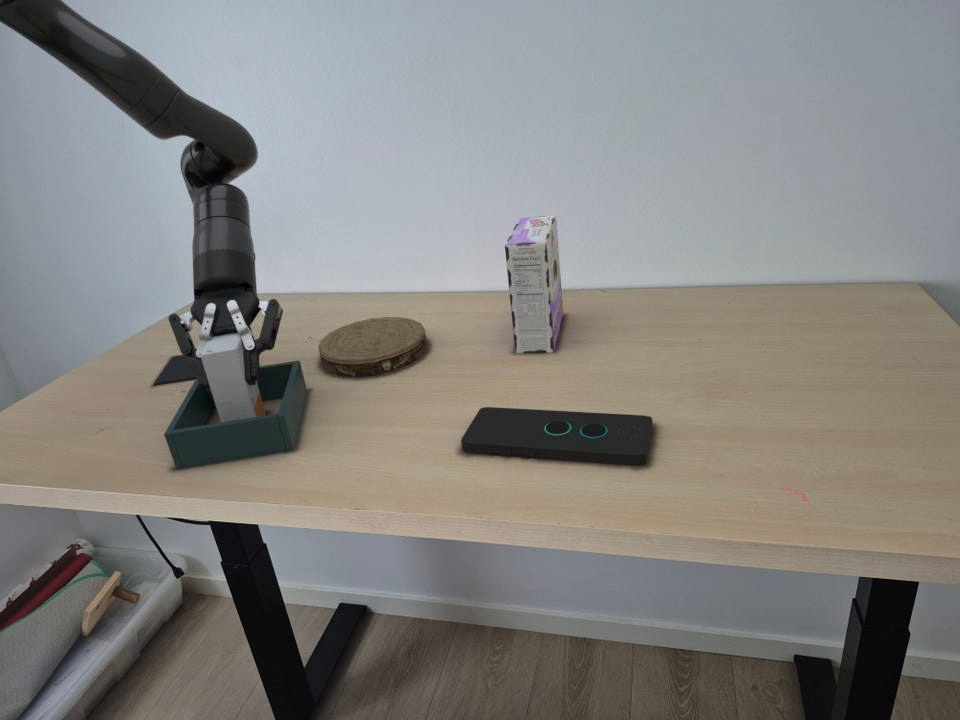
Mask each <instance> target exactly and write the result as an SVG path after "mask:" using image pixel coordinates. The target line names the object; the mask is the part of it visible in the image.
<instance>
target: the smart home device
mask: <svg viewBox="0 0 960 720" xmlns="http://www.w3.org/2000/svg"><path fill="white" fill-rule="evenodd" d="M652 434H653V417H652V416H649V415H643V414H627V413H626V414H623V413H608V412H607V413H606V412H589V411H587V412H586V411H572V410H571V411H569V410H552V409H550V410H549V409H533V408H531V409H530V408H511V407H494V406H485V407H481V408H479V410H478V411H477V413H476V415H475V416H474V418H473V419H472V421H471V422H470V424H469V425H468V428H467V429H466V431H465V433H464V434H463V436H462V437H461V439H460V444H461V450H462V452H463V453H466V454H472V455H482V456H483V455H484V456H495V457H496V456H497V457H498V456H499V457H510V458H524V459H538V460H549V461H562V462H563V461H564V462H576V463H590V464H601V465H602V464H603V465H614V466H615V465H617V466H629V467H643V466H646V465H647V461H648V456H649V450H650V444H651V439H652Z"/></svg>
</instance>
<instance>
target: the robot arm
mask: <svg viewBox="0 0 960 720" xmlns="http://www.w3.org/2000/svg"><path fill="white" fill-rule="evenodd" d="M0 23H1V24H3V25H5V26H6V27H8V28H9V29H11V30H13V31H14V32H16V33H17V34H19V36H20V35H21V36H22V37H23V38H25V39H26V40H28V41H29V42H30V43H32V44H33V45H35V46H36V47H38V48H39V49H41V50H42V51H44V52H45V53H47V54H48V55H50V57H52V58H53V59H55V60H57V61H58V62H59V63H60V64H62V65H63V66H65V67H66V68H67V69H69V70H70V71H71V72H73V73H74V74H75V75H77V76H78V77H79V78H80V79H82V80H83V81H84V82H85V83H86V84H88V85H89V86H91V87H92V88H93V89H94V90H95V91H97V93H100V95H102V96H103V97H104V98H106V99H107V100H108V101H109V102H110V103H112V104H113V105H114V106H116V107H117V108H118V109H119V110H120V111H121V112H122V113H124V114H125V115H126V116H128V117H129V118H130V119H131V120H132V121H134V122H135V123H136V124H137V125H139V127H141V128H143V129H144V130H145V131H146V132H148V133H149V134H150V135H151V136H153V137H154V138H155V139H158V140H163V141H166V140H170V139H174V138H177V137H183V136H184V137H188V138H189V139H192V141H190V142H189V143H188V144H186V146H184V149H183V150H182V152H181V156H180V162H179V165H180V167H179V168H180V172H181V176H182V179H183V181H184V184H185V187H186V189H187V193H188V196H189V198H190V201H191V204H192V206H193V207H192V209H193V211H192V213H193V214H192V215H193V217H192V218H193V238H192V245H191V247H192V248H191V249H192V252H191V253H192V283H193V303H192V305H191V306H190V310H189V311H187V312H184V313H182V314H180V315H179V314H177V313H171V314H170V315H169V316H168V322H169V325H170V327H171V330H172V333H173V335H174V338H175V341H176V343H177V346H178V349H179V351H180V354H181V355H184V356H185V357H186V358H187V359H188V360H189V361H191V362H194V361H197V362H198V381H199V383H200V385H201V386H203V387H204V388H205V389H206V390H207V391H208V392H211V388H210V385H209V382H208V379H207V375H206V372H205V369H204V366H203V363H202V359H201V354H202V352H203V350H204V347H205V345H206V344H207V343H208V342H209V341H210V340H211V339H212V338H213V336H219V335H226V334H232V333H239V335H240V337H241V339H242V342H243V344H244V347H245V349H246V352H243V357H244V370H245V381H246V382H247V383H248V384H249V385H250V386H251V385H256V380H259V378H260V366H261V364H260V363H261V362H260V355H262V353H263V352H265V351H272V350H273V349H275V346H276V341H277V337H278V332H279V329H280V325H281V321H282V317H283V313H284V310H283V308H282V306H281V304H280V302H279V300H277V299H276V298H271V299H270V300H268V301H266V300H260V299H259V297H258V290H257V289H258V288H257V275H256V253H255V246H254V240H253V236H252V227H251V214H250V213H251V211H250V204H249V199H248V196H247V195H246V193H245V191H243V189H241V188H240V187H238V186H237V185H234V184H230V183H232V182H233V181H234V180H236V179H238V178H239V177H240V176H242V175H244V174H245V173H246V172H248V171H250V170H251V169H252V168H253V167H254V166H255V165H256V163H257V161H258V159H259V158H258V157H259V150H258V146H257V143H256V140H255V139H254V137H253V136H252V134H251V133H250V131H249V130H247V128H246V127H245V126H244V125H242V123H240V122H239V121H237V120H236V119H234V118H233V117H231V116H229V115H228V114H225V113H223V112H222V111H219V110H218V109H216V108H214V107H212V106H211V105H208V104H207V103H205V102H204V101H201V100H199V99H198V98H196V97H193V96H192V95H190V94H188V93H187V92H186V91H185V90H183V89H182V88H181V87H180V86H178V84H177V83H176V82H174V80H172V79H171V77H169V76H168V75H167V74H166V73H164V72H163V71H162V70H161V69H160V68H159V67H158V66H156V64H154V63H153V62H151V60H150V59H148V58H147V57H145V56H144V55H142V54H141V53H140V52H138V51H137V50H136V49H134V48H133V47H131V46H129V45H128V44H127V43H125V42H123V41H122V40H120V39H118V38H117V37H116V36H114V35H112V34H110V33H109V32H107V31H106V30H103V28H100V27H99V26H97V25H96V24H94V23H92V22H91V21H89V20H88V19H87V18H85V17H83V16H82V15H81V14H80V13H78V12H77V11H75V10H74V9H72V8H71V7H70V6H69V5H68V4H67V3H65V2H64V1H63V0H0ZM260 312H261V315H262V316H263V321H262V326H261V330H260V333H259V337H258V338H256V336H255V334H254V331H253V329H252V324H253V323H254V320H255V319H256V318H257V316H258V315H259V313H260ZM194 321H196V322H197V323H199V325H200V326H201V327H200V329H199V334H198V339H199V341H198V343H197V348H196V346H195V344H194V342H193V339H192V336H191V333H190V332H192V330H193V322H194Z"/></svg>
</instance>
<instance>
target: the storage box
mask: <svg viewBox="0 0 960 720" xmlns="http://www.w3.org/2000/svg"><path fill="white" fill-rule="evenodd" d="M256 381H257V385H258V388H259V392H260V395H261V399H262V402H263V401H268V400H275V399H281V398H282V400H281V403H280V407H279V410H278V413H271V414H265V416H258V417H252V418H246V419H240V420H233V421H227V422H221V421H220V422H214V423H209V424H208V423H207V424H206V422H207V420H208V418H209V417H210V414H211V412H212V410H213V409H217V408H216V405H215V401H214V398H213V395H212V392H208V391H207V390H206V389H205V388H204V387H203V386H201V385H200V383H199V381H198V377H197V378H196V379H194V382H193V384H192V385H191V387H190V389H189V390H188V392H187V394H186V396H185V397H184V398H183V400H182V402H181V404H180V406H179V408H178V409H177V411H176V413H175V415H174V416H173V418H172V420H171V421H170V424H169V425H168V426H167V429H166V430H165V432H164V434H163V436H164V438H165V442H166V445H167V447H168V450H169V453H170V455H171V458H172V461H173V463H174V464H173V465H174V466H175V469H176V470H181V469H187V468H194V467H201V466H205V465H207V466H208V465H214V464H220V463H224V462H231V461H237V460H242V459H251V458H255V457H262V456H268V455H273V454H274V455H275V454H281V453H287V452H292V451H293V452H294V450H295V446H296V442H297V437H298V434H299V429H300V424H301V421H302V415H303V412H304V407H305V402H306V400H307V399H306V398H307V394H308V389H307V384H306V380H305V377H304V373H303V369H302V365H301V360H299V359H298V360H294V361H293V360H292V361H285V362H278V363H273V364H267V365H260V378H259V380H256Z"/></svg>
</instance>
